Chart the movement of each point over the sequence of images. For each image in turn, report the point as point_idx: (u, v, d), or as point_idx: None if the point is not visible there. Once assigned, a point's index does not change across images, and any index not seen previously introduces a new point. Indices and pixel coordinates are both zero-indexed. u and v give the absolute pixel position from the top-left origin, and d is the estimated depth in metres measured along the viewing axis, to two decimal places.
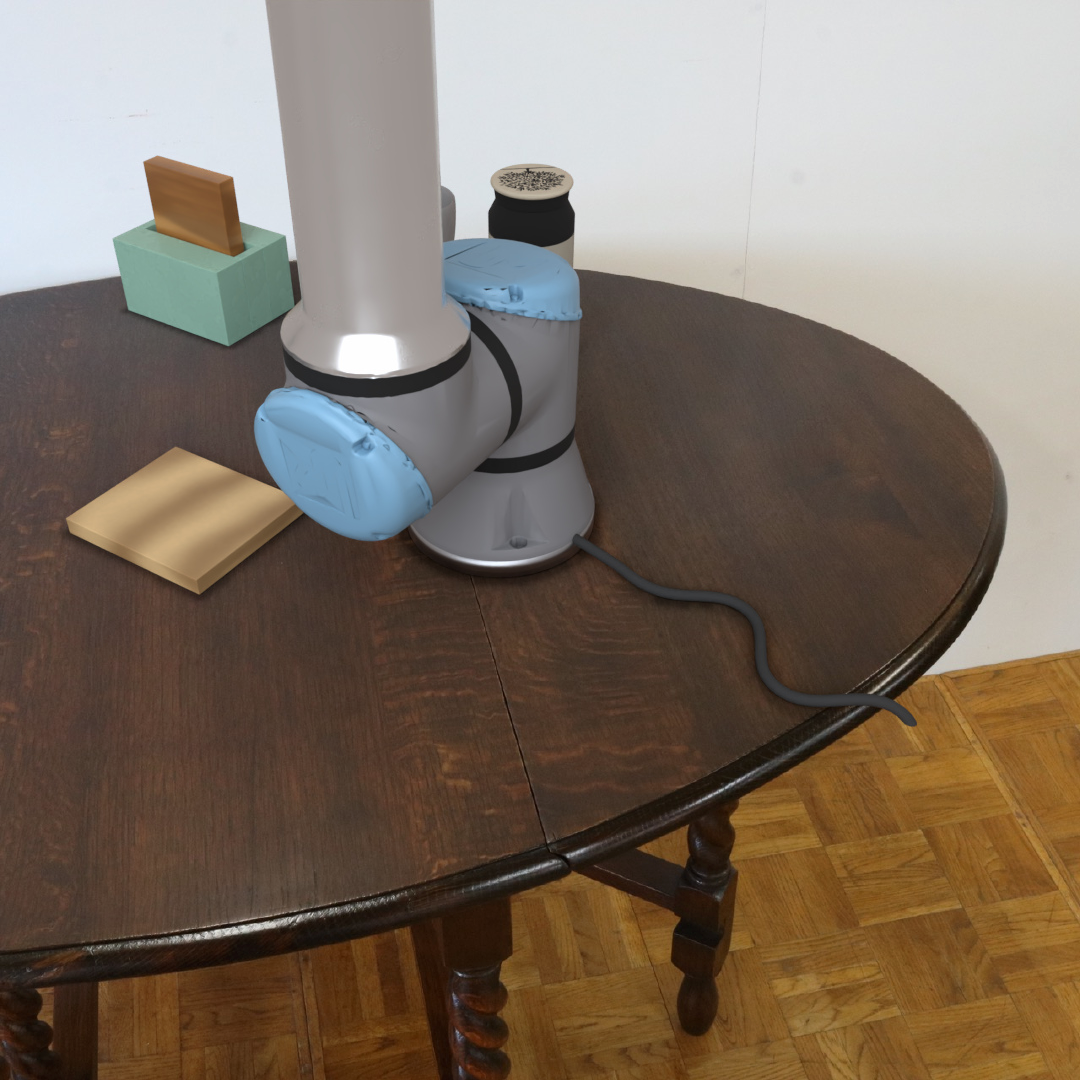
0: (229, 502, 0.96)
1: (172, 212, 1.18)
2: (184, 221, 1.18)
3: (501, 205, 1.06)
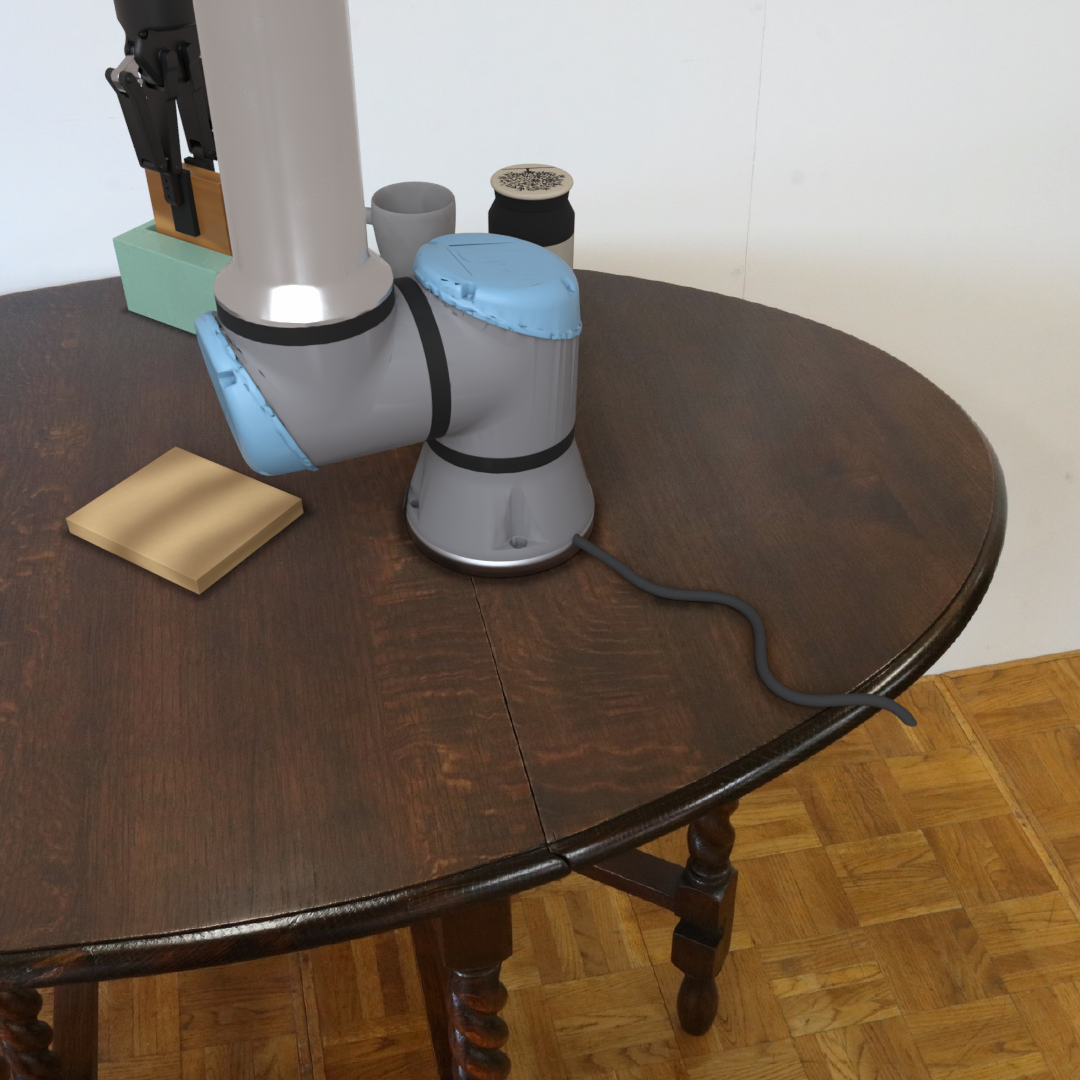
0: (229, 502, 0.96)
1: None
2: None
3: (501, 205, 1.06)
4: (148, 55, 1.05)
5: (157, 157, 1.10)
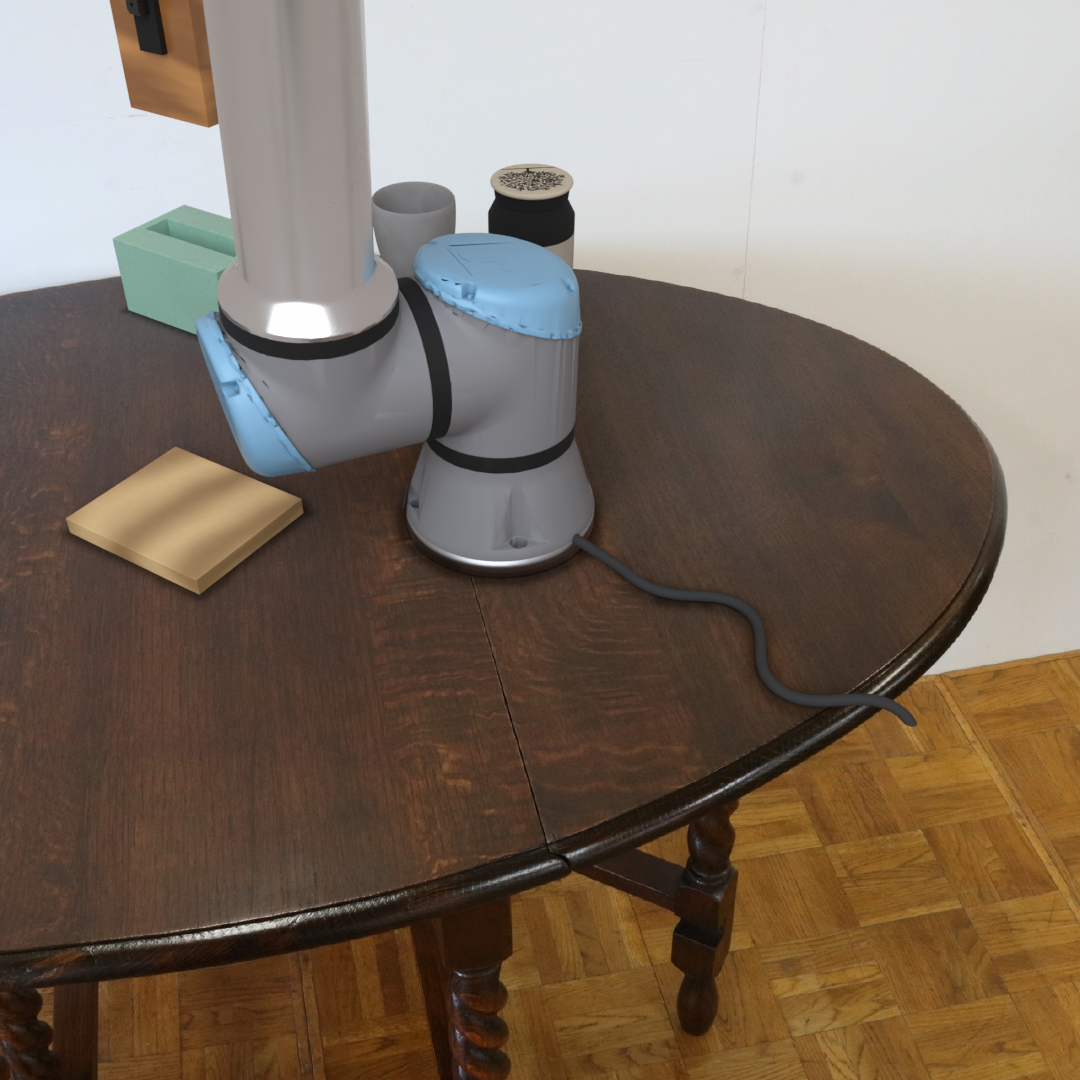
0: (229, 502, 0.96)
1: None
2: None
3: (501, 205, 1.06)
4: None
5: None
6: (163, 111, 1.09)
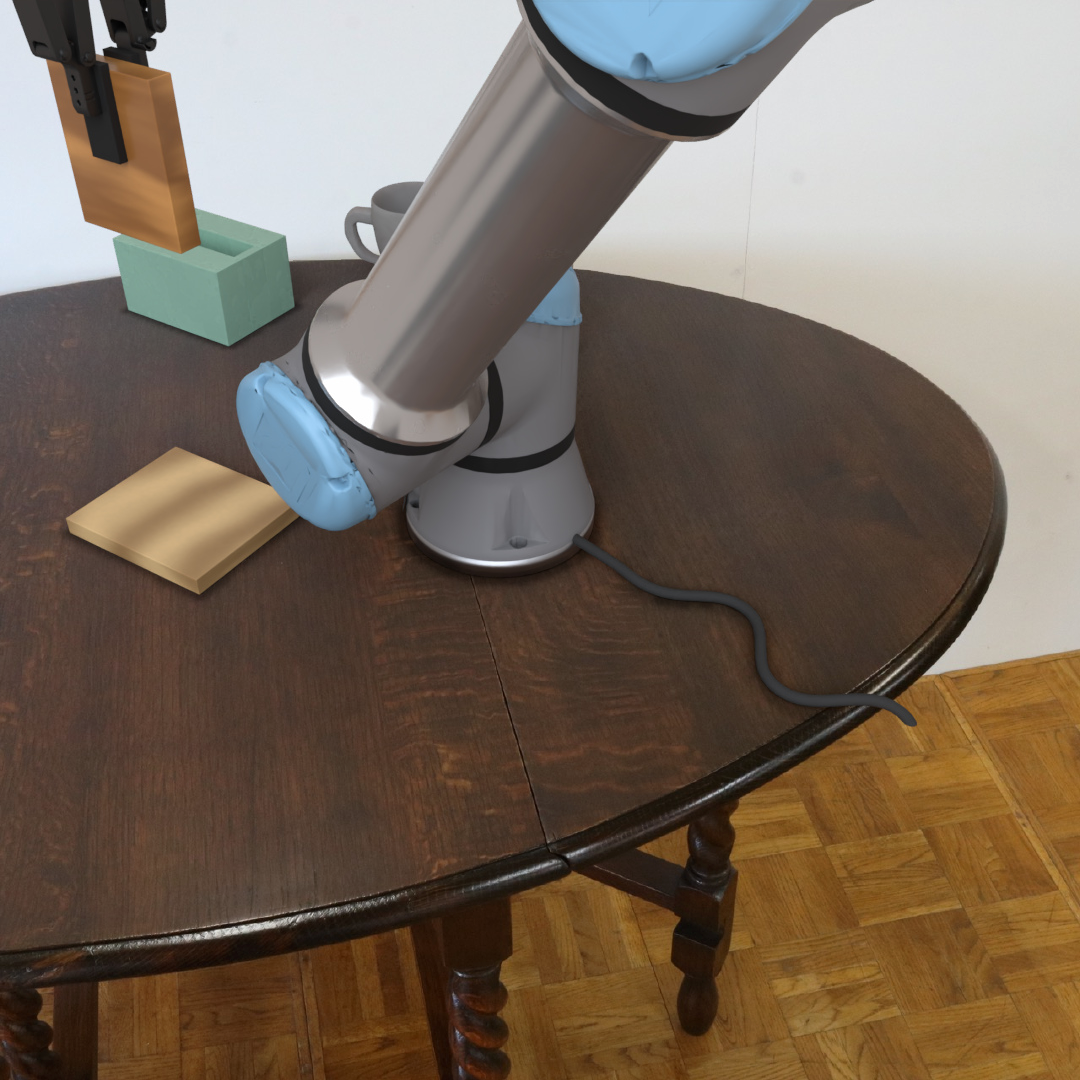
0: (229, 502, 0.96)
1: None
2: None
3: None
4: None
5: (54, 37, 0.73)
6: (124, 229, 0.85)
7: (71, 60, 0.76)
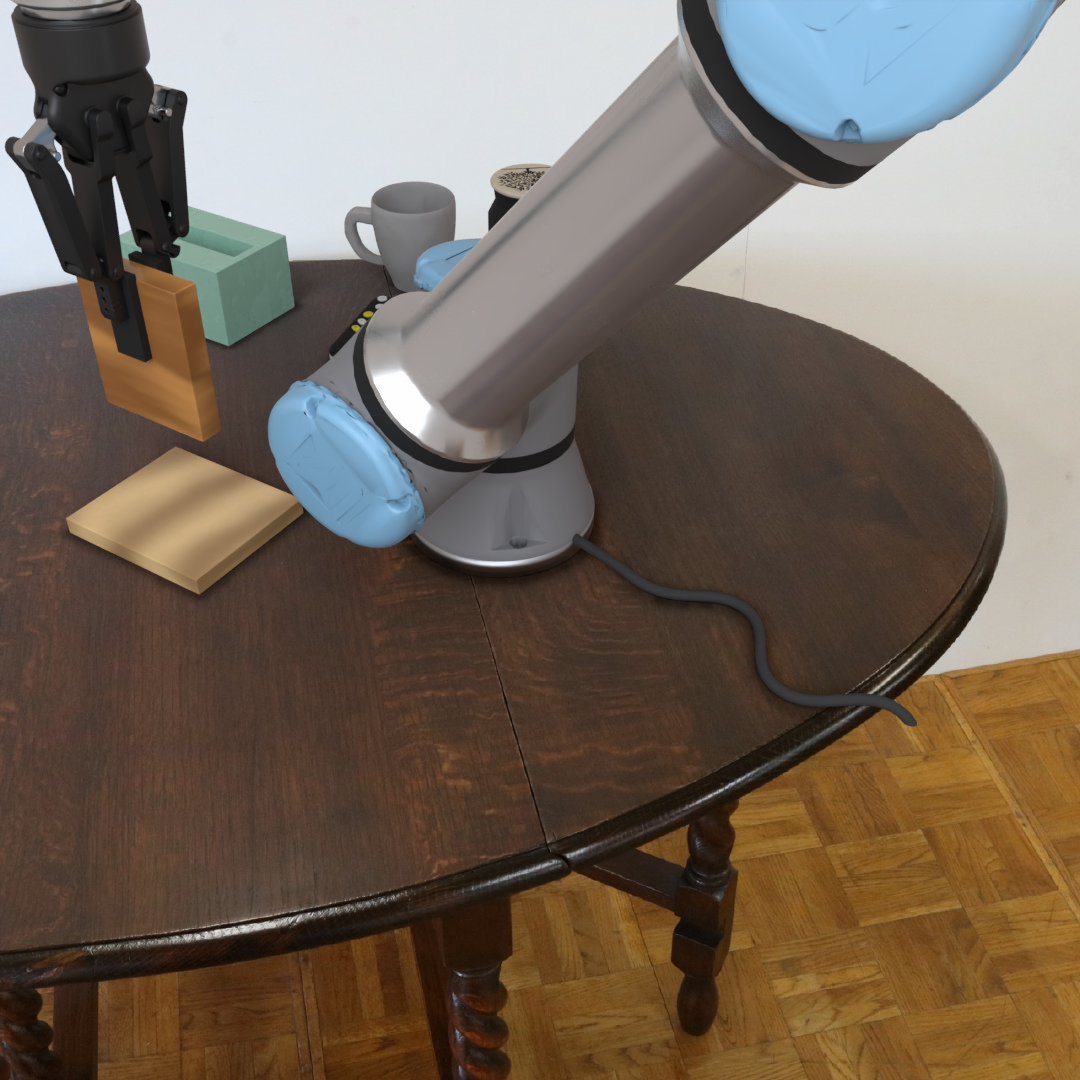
0: (229, 502, 0.96)
1: None
2: None
3: (501, 205, 1.06)
4: (69, 118, 0.72)
5: (86, 260, 0.77)
6: (147, 414, 0.89)
7: (100, 276, 0.79)
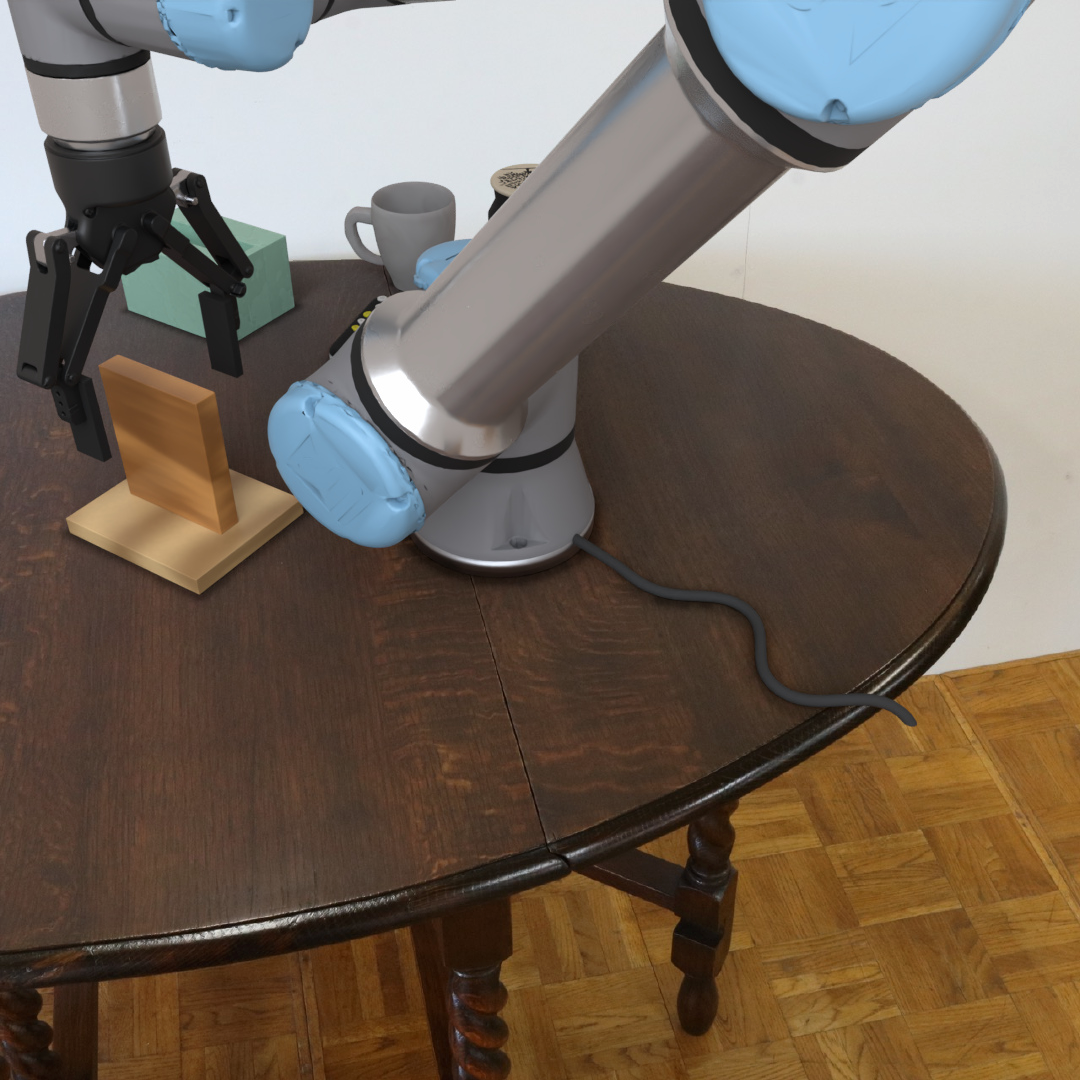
0: None
1: (137, 428, 0.91)
2: (153, 439, 0.90)
3: (501, 205, 1.06)
4: (97, 237, 0.77)
5: (48, 364, 0.77)
6: (168, 507, 0.94)
7: None
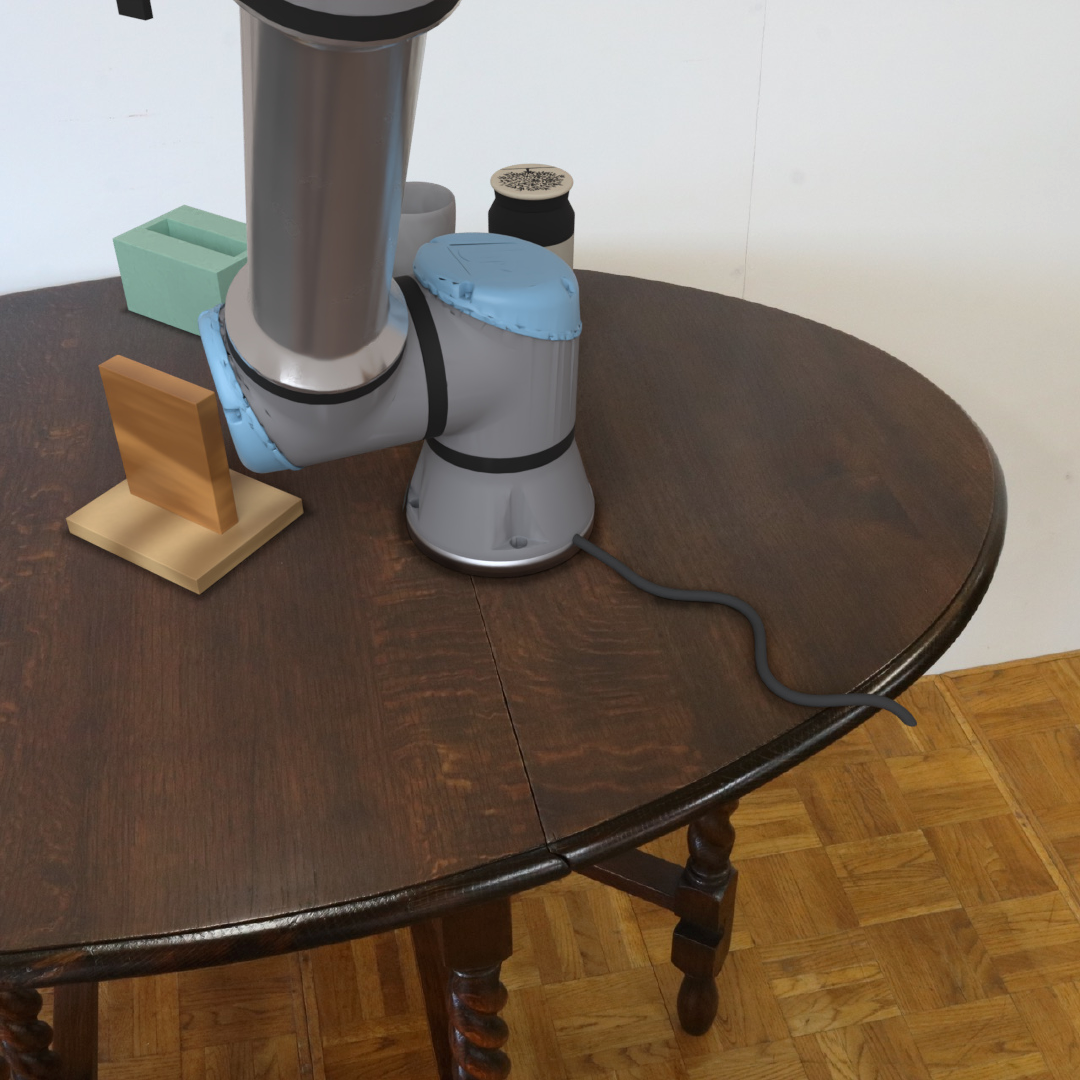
0: None
1: (137, 428, 0.91)
2: (153, 439, 0.90)
3: (501, 205, 1.06)
4: None
5: None
6: (168, 507, 0.94)
7: None
